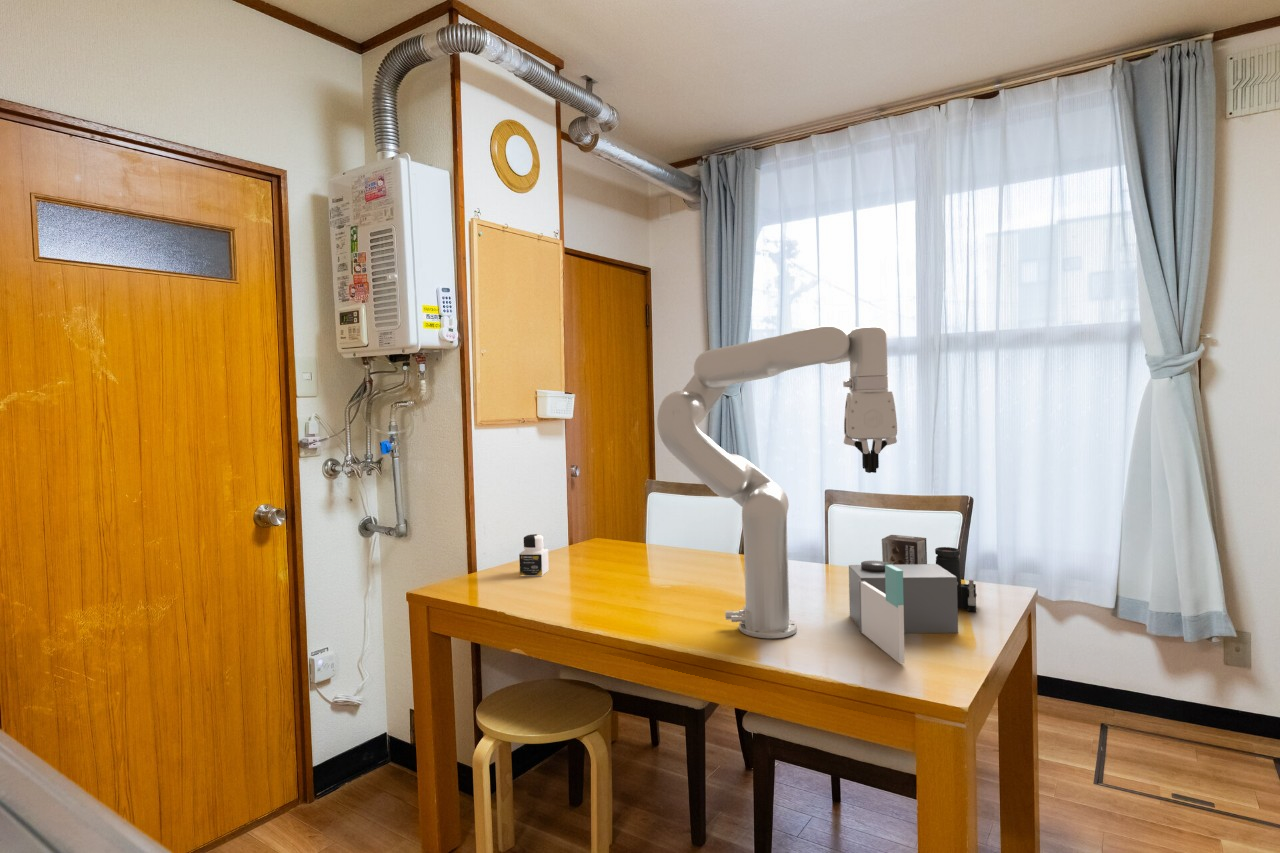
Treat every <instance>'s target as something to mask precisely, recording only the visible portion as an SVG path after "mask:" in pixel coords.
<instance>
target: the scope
mask: <svg viewBox="0 0 1280 853" xmlns="http://www.w3.org/2000/svg"><path fill="white" fill-rule="evenodd" d="M934 552H935V555H936V557H935V564H938V565H939V566H941V567H942V568H944V569H945V570H947V571H948V572H950V573H951V574H953V575H954V576H956V577H957V605H958V610H967V612H969V613H970V612H974V613H977V596H978V594H977V591H976V590H977V588H976V587H977V585H976V583H975V582H974V581H975V580H974V579H968V584H967V583H962V578H961V563H960V557H959V556H960V555H961V550H960V549H958V548H957V547H956V548H955V547H950V546H941V547H940V546H939V547H936V548H935V549H934Z"/></svg>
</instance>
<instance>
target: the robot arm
mask: <svg viewBox="0 0 1280 853" xmlns="http://www.w3.org/2000/svg"><path fill="white" fill-rule="evenodd" d="M887 336H888V335H887V331H886V329H885V328H884V327H882V326H878V325H876V326H875V325H873V326H872V325H868V326H861V327H860V326H859V327H855V328H853V329H852V330H844V329H843V328H842V327H840V326H837V325H831V324H830V325H822V326H817V327H812V328H807V329H804V330H798V331H794V332H789V333H785V334H780V335H777V336H771V337H767V338H763V339H757V340H753V341H747V342H744V343H739V344H733V345H728V346H723V347H719V348H713V349H709V350H706V351H703V352H702V353H700V354H698V356H697V358H696V359H695V361H694V363H693V364H694V365H693V372H694V373H693V376H692V377H691V378H690V380H689V382H687V384H686V385H685V387H683V389H682V390H676V391H673V392H671V393H669V394H667V395H666V396H665V397H664V398H663V400H662V401H661V403H660V405H659V408H658V410H657V411H658V412H657V416H656V417H657V418H656V419H657V420H656V422H657V430H658V431H657V432H658V434H659V437H660V439H661V442H662V443H663V445H664V446H665V448H666V449H667V450H668V452H669V453H671V455H672V456H674V457H675V458H676V459H677V460H678V462H680V463H681V464H682V465H683V466H684V467H686V468H687V469H688V470H689V471H690V472H691V473H692V474H693V475H694V476H696V477H697V478H698V479H699V480H700V481H702V483H704V484H705V485H706V486H707V487H708V488H709V489H710V490H711V491H712V492H713V493H714V494H716V495H717V496H719V497H721V498H724V499H732V500H733V501H734V502H735V503H737V505H739V506H740V507H741V525H742V533H743V552H744V553H743V558H744V559H743V560H744V580H745V581H744V586H745V587H744V591H745V592H744V595H745V596H744V597H745V605H743V609H739V610H736V611H735V610H734V611H733V610H725V614H724V615H725V620H730V621H731V623H737V622H739V624H738V629H739V631H740V632H741V633H743V634H744V635H747V636H749V637H754V638H758V639H782V638H786V637H790V636H793V635H794V634H795V633H797V630H798V628H797V623H796V622H794V621H792V620H791V619H790V597H789V596H790V590H789V588H790V587H789V584H790V583H789V553H788V552H789V551H788V549H789V548H788V547H789V546H788V510H789V499H788V496H787V494H786V492H785V490H783V489H782V487H781V486H780V485H779V484H777V483H776V482H775V481H773V480H772V478H770V477H769V476H767V475H766V474H765V473H764V472H763V471H762V470H760V468H758V467H757V466H755V465H754V464H753V463H752V462H751V461H749V460H748V459H747V458H745V457H744V456H741V455H739V454H736V453H735V454H734V453H728V452H727V451H726V450H724V449H723V448H722V447H721V446H720V445H718V443H716V442H715V441H714V440H713V438H710V437H709V435H707V434H705V433H704V432H703V431H701V430H700V428H699V427H698V426H697V425H699V424H700V423H701V422H703V421H704V420H705V418H706V417H707V416H708V414H709V413H710V412H711V411H712V409H713V408H714V406H716V404H717V403H718V402H719V400H720V398H721V397H722V396H723V395H724V393H725V392H726V391H727V389H728V388H729V387H730V386H731V385H735V384H739V383H740V384H742V383H745V382H746V383H747V382H752V381H756V380H762V379H768V378H771V377H775V376H778V375H780V374H782V373H784V372H786V371H790V370H795V369H799V368H803V367H809V366H814V365H820V364H826V365H835V364H840V363H841V364H842V363H846V362H849V379H847V380H844V381H843V382H842V385H843V388H847V389H849V392H847V394H846V399H845V404H844V405H845V406H844V419H843V426H844V427H843V432H844V433H843V434H844V439H843V444H844V445H848V446H852V447H855V448H856V449H857V450H858V451H859V452H860V453H861V457H862V461H861V462H862V464H861V465H862V469H863V470H864V471H865V473H868V474H871V473H874V474H876V473H877V469H879V468H880V466H879V465H880V463H879V462H880V460H879V459H880V458H879V456H880V455H879V454H880V453H881V451H882V450H883V449H884V448H885V447H886V446H891V445H894V444H896V443H897V442H898V441H897V440H898V439H897V435H898V421H897V412H896V404H895V398H894V394H893V391H889V386H888V382H889V379H888V341H887V340H888V337H887ZM868 440H872V444H871V450H870V448H869V444H868Z"/></svg>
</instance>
